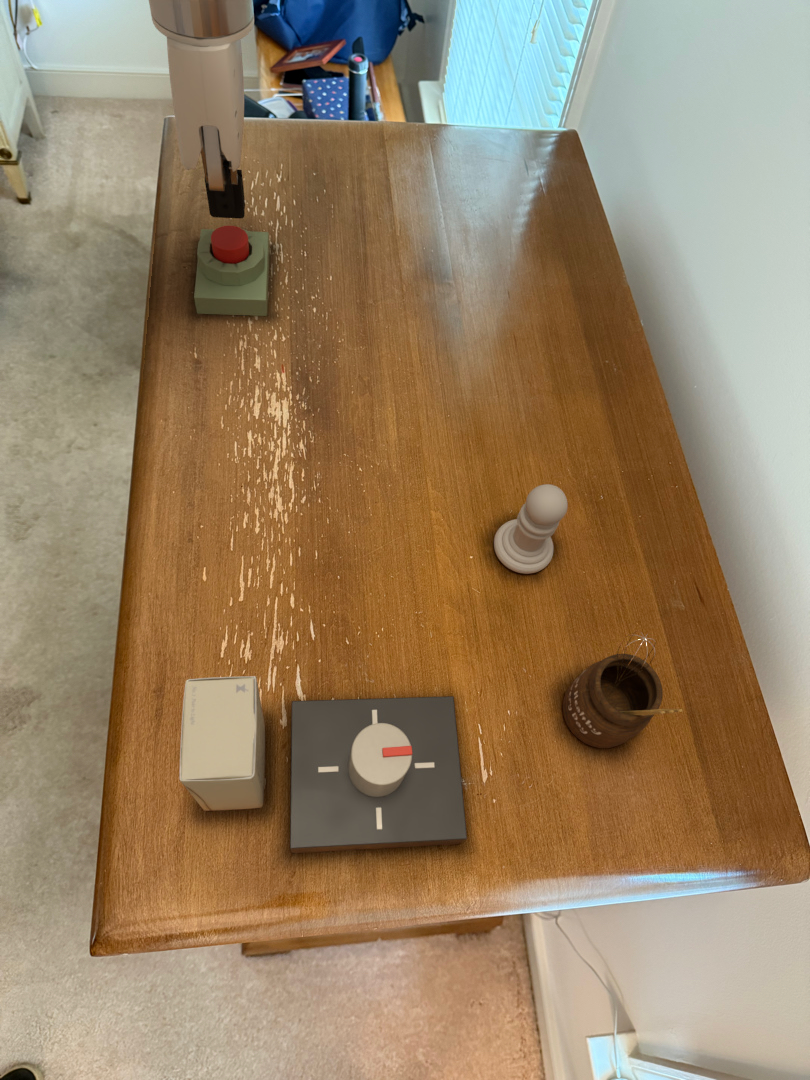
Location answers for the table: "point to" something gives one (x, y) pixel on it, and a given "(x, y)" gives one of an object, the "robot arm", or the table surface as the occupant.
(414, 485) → the table surface
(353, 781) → the hob knob
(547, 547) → the chess piece
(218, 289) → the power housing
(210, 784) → the cosmetic box
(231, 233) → the power button
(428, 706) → the panel
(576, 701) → the utensil holder
